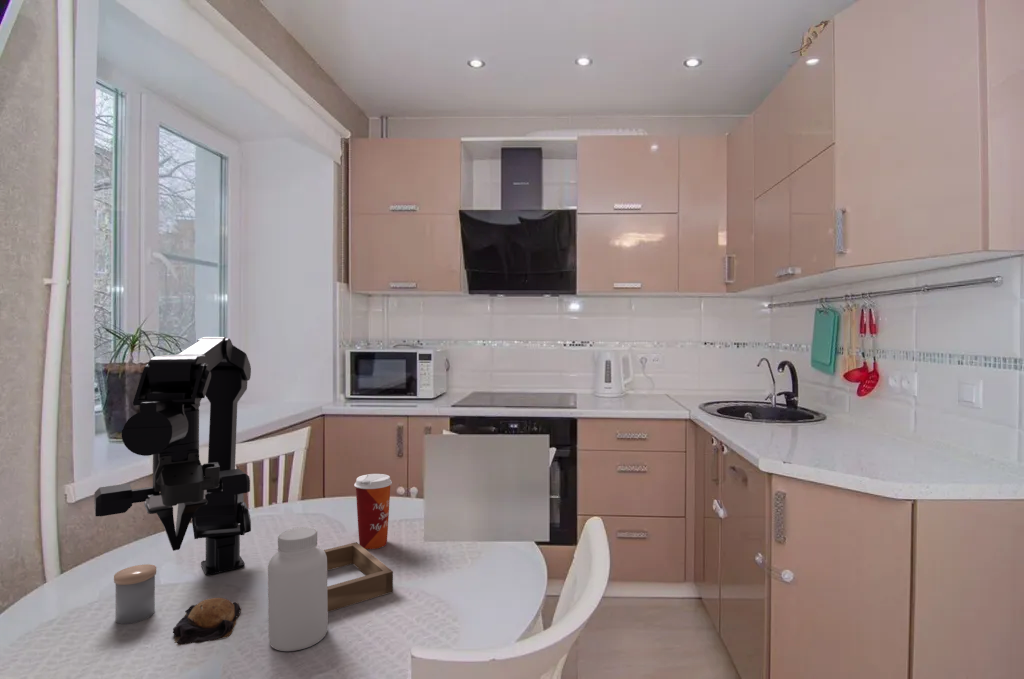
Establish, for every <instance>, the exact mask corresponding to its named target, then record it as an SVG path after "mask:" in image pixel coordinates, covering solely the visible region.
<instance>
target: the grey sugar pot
mask: <svg viewBox="0 0 1024 679" xmlns="http://www.w3.org/2000/svg"><path fill="white" fill-rule="evenodd" d="M156 575H157V566H156V565H154V564H149V563H148V564H145V563H144V564H137V565H133V566H129V567H125V568H124V569H121V570H119V571H117V572H115V574H114V575H113V583H114V584H115V606H114V607H115V608H114V609H115V613H114V614H115V617H114V618H115V622H116V623H117V624H119V625H128V624H129V625H131V624H136V623H139V622H142V621H144V620H146V619H148V618H150V617H151V616H153V615H154V614H155V612H156V609H155V608H156V607H155V606H156V603H155V602H156V598H155V597H156V596H155V595H156V594H155V593H156Z"/></svg>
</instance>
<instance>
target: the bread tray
mask: <svg viewBox="0 0 1024 679" xmlns="http://www.w3.org/2000/svg"><path fill="white" fill-rule="evenodd" d="M323 550H324V551H325V553H326V556H327V571H331V570H334V569H338V568H342V567H345V566H350V565H354V567H356V568H357V569H358V570H359V571H360V572H361V573H363V576H360V577H356V578H353V579H350V580H346V581H342V582H338V583H335V584H331V585H327V596H328V613H329V612H333V611H336V610H340V609H343V608H345V607H349V606H353V605H355V604H358V603H361V602H364V601H368V600H371V599H375V598H378V597H382V596H384V595H387V594H390V593H391V594H392V593H393V592H394V571H393V570H392V569H390V567H388V566H387V565H386V564H385V563H383V562H382V561H381V560H379V559H378V558H377V557H375V555H373V554H372V553H370V552H369V551H368V549H364V548H363V547H362V546H361V545H359V542H351V543H348V544H344V545H339V546H335V547H329V548H326V549H323Z"/></svg>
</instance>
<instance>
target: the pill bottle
mask: <svg viewBox="0 0 1024 679" xmlns="http://www.w3.org/2000/svg"><path fill="white" fill-rule="evenodd" d="M324 550H325V549H323V548H321V547H320V546H318V531H317V529H316V528H313V527H297V528H296V527H295V528H291V529H288V530H283V531H282V532H281V533H279V535H278V536H277V552H276V553H275V554H273V556H271V558H270V559H269V562H268V566H267V592H268V593H267V601H268V604H267V608H268V609H267V610H268V612H267V618H268V620H267V621H268V623H267V624H268V641H269V642H268V643H269V644H270V646H271V647H272V648H273V649H275V650H277V651H281V652H295V651H300V650H304V649H306V648H310V647H312V646H314V645H315V644H318V643H319V642H320V641H321V640H323V639H324V638H325V636H326V635H327V632H328V629H329V628H328V625H329V622H328V621H329V618H328V617H329V614H328V613H329V612H328V596H327V586H328V570H327V556H326V553H325V551H324Z"/></svg>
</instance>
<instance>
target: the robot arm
mask: <svg viewBox="0 0 1024 679" xmlns="http://www.w3.org/2000/svg"><path fill="white" fill-rule="evenodd" d="M251 369H252V367H251V363H250V360H249V357H248V355H247V353H246V352H245V351H243V350H241V349H240V348H238V347H237V346H235V345H233V342H232V340H231V338H227V337H225V336H203V337H201V338H198V339H197V340H196V343H194V344H192V345H191V346H189V347H187V348H185V349H184V350H183V351H181V352H180V353H177V354H164V355H162V354H161V355H155V356H153V357H152V358H150V359H149V361H148V363H147V364H145V365H144V367H143V369H142V373H141V376H140V379H139V382H138V386H137V389H136V392H135V395H134V398H133V401H132V405H133V406H135V407H139V412H137V413H136V414H132V416H131V417H130V418H128V419H127V421H126V422H125V423H124V425H123V428H122V430H121V439H122V442H123V444H124V446H125V447H126V448H127V450H129V451H130V452H132V454H136V455H138V456H143V457H146V456H148V457H149V456H152V486H148V487H140V488H134V489H133V488H132V487H131V485H130V483H123V484H115V485H108V486H106V485H105V486H100V487H98V488H97V489H96V490H95V491H94V498H93V499H94V500H93V502H94V503H93V506H94V507H93V508H94V515H95V517H106V516H111V515H112V516H113V515H118V514H125V513H126V512H128V511H129V510H130V509H131V508H132V507H133V504H137V503H142V502H143V506H144V508H145V511H146V512H147V514H148V515H152V514H156V515H157V516H158V518H159V520H160V522H161V523H162V525H163V528H164V531H165V533H166V537H167V539H168V541H169V544H170V546H171V549H172V551H173V552H174V551H180V549H181V547H182V544H183V542H184V538H185V535H186V533H187V530H188V528H189V525H190V522H191V524H192V531H193V538H194V540H198V539H205V560H202V561H201V562H200V565H201V567H202V570H203V572H204V574H205V576H210V575H213V574H218V573H223V572H226V571H227V572H228V571H231V570H236V569H239V568H243V567H245V566H246V565H245V564H246V562H245V561H244V560H243V558H242V556H241V553H240V552H241V549H240V548H241V547H240V546H241V543H240V542H241V540H240V539H241V536H245V534H246V533H250V532H251V531H252V518H251V513H250V511H249V509H248V505H247V503H246V502H245V500H244V497H245V496H244V494H246V493H249V492H251V479H250V476H249V475H248V474H247V473H246V472H244V471H243V470H241V469H240V468H236V453H237V452H236V449H237V448H236V447H237V428H238V426H237V423H238V422H237V421H238V420H237V419H238V418H237V417H238V403H239V401H240V400H241V399H242V397H243V395H244V394H245V393H246V392H247V390H248V381H250V379H251V374H252V370H251ZM205 398H206V399H207V400H208V401H209V404H210V405H209V410H210V411H209V428H208V429H209V431H208V449H207V450H208V456H207V462H206V463H203V464H202V463H201V461H200V406H201V401H202V399H205ZM174 506H177V513H176V522H175V518H174Z"/></svg>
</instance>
